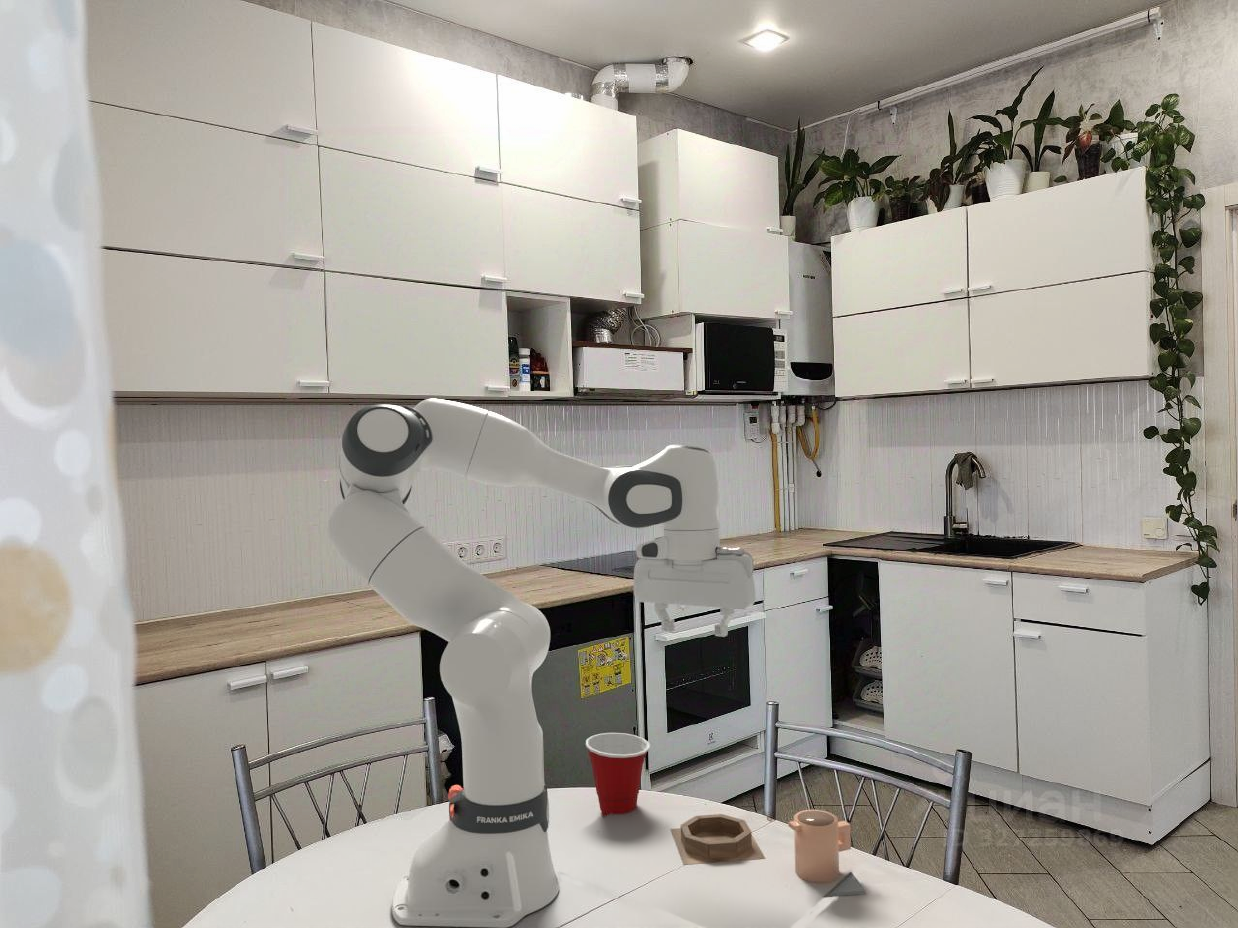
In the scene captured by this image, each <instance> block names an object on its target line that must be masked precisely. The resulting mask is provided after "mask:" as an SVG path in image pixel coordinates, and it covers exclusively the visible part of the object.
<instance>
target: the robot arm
mask: <svg viewBox="0 0 1238 928" xmlns="http://www.w3.org/2000/svg"><path fill="white" fill-rule="evenodd" d="M341 438H342V439H341V450H340V454H339V457H338V471H339V472H338V473H339V489H340V494H341V497H342V500H341V501H340V502H339V503H338V504H337V505H336V507H335V508H333V511H332V512H331V514H330V516H329V519H328V522H327V534H328V538H329V539H330V542H332V544H333V546H334V547H335V548H336V550H337V552H339V554H340V555H341V557H342V558H343V560H345V561H346V563H347V564H348V565H349V566H350V567H351V569H352V570H353V571H354V572H355V573H356V574H357V575H358V576H359V577H360V578H361V579H362V580H363V581H364V582H365V583H366V584H367V585H368V586H369V587H371V589H373V590H374V592H376V593H377V595H379V596H380V598H381V599H383V600H384V601H385V602H386V603H388V605H389V606H390V607H392V608H393V609H394V610H395V611H396V612H397V613H398V614H400V616H401V617H403V619H404V620H406V622H408V623H409V624H411V625H413V626H415V627H417V628H418V627H419V628H421V629H424V630H426V631H428V632H431V633H433V634H435V635H436V636H438V637H439V638H441V639H443V640H445V642H446V641H447V642H448V643H447V645H446V647H445V648H444V651H443V653H442V655H441V658H440V663H439V673H440V678H441V679H440V680H441V682H442V684H443V686H444V688H445V690H446V691H447V693H448V694H449V695H450V696H451V698H452V703H453V706H454V709H455V715H456V719H457V724H458V727H459V731H460V738H461V751H462V752H461V753H462V755H461V756H462V779H463V780H462V781H463V782H462V783H463V787H462V786H461V785H459V784H454V785H452V786H450V788H449V791H448V795H447V798H448V801H449V802H448V815H449V819H448V820H447V821H446V822H444V823H443V824H442V825H440V826H439V828H436V830H435V831H433V832H432V833H431V834H429V835H427V837H426V838H424V839H423V841H422V842H421V843H420V844H419V846H417V849H416V850H415V853H414V854H413V855H414V856H413V858H412V861H411V863H410V868H409V872H408V873H406V874H405V875H404V876H403V878H401V880H400V881H399V883H397V886H396V888H395V890H394V892H393V896H392V902H391V903H392V904H391V914H392V917H393V919H394V921H395V922H397V924H398V925H400V926H415V927H418V926H420V927H421V926H423V927H424V926H425V927H456V928H457V927H459V928H460V927H461V928H462V927H463V928H464V927H465V928H467V927H468V928H509V927H513V926H514V925H515V924H518V922H519V921H521V919H523V918H524V917H525V916H526V915H529V914H531V913H534V912H536V911H539V910H540V909H542V908H544V907H545V906H547V905H548V904H550V903H551V902H552V901H553V900H554V899H555V898H556V897H557V895H558V893H559V890H560V882H559V880H558V877H557V875H556V874H557V873H556V871H555V867H554V863H553V859H552V854H551V848H550V842H549V834H548V829H549V823H550V800H549V796H550V795H549V794H548V787H547V785H546V783H545V771H544V769H545V768H544V767H545V766H544V737H543V735H544V734H543V729H542V726H541V724H540V723H539V722H538V718H537V714H536V709H535V705H534V698H533V693H532V680H533V675H534V673H535V672H536V670H538V669H539V668H540V667H541V666H542V664H543V662H544V661H545V659H546V657H547V655H548V653H549V648H550V643H551V627H550V625H549V622H548V620H547V618H546V616H545V614H543V613H542V611H541V610H539V609H538V608H537V607H535V606H534V605H531V604H530V603H526V602H524V601H522V600H521V599H519V598H518V597H516V596H515V595H514V594H512V593H511V592H509V591H508V590H507V589H505V588H503V587H502V586H500V585H498V584H497V583H496V582H494V581H493V580H491V579H490V578H488V577H486V576H485V575H483V574H482V573H480V572H478V571H477V570H476V569H474V568H473V567H471V566H470V565H469V564H467V563H466V562H465V561H464V560H462V558H460V557H459V556H458V555H457V554H456V553H454V551H452V550H451V549H450V547H448V546H447V545H446V544H445V543H443V541H441V539H439V538H438V537H437V536H436V535H435V534H434V533H433V532H431V531H430V530H429V529H428V528H427V527H426V526H425V525H424V524H423V523H421V521H419V520H418V519H417V518H415V517H414V516H413V515H412V514H411V513H410V511H409V510H408V509H407V508H406V506H405V504H406V502H407V501H408V499H409V498H410V494H411V492H412V488H413V482H414V480H415V479H416V477H417V474H418V473H421V472H425V471H439V472H447V473H449V474H450V475H453V476H456V477H460V478H462V479H466V480H468V481H471V482H474V483H478V484H482V485H485V486H486V485H488V486H491V487H498V488H509V489H513V488H523V487H533V488H535V487H536V488H543V489H547V490H550V491H554V492H556V493H560V494H563V495H567V496H569V497H573V498H575V499H578V500H581V501H584V502H586V503H588V504H590V505H592V506H594V507H595V508H596V509H597V510H598V511H599V512H600V513H602V515H603V516H605V517H606V518H607V520H610V521H612V522H614V524H618V525H621V526H624V527H626V528H629V529H634V530H635V529H636V530H642V529H646V528H649V527H653V526H657V525H660V524H662V525H663V536H660V537H656V538H654V539H652V540H649V541H646V542H643V543H641V544H638V545H637V546H636V549H635V551H636V554H635V555H636V557H638V560H637V561H636V562H635V564H634V568H633V570H634V571H633V596H634V597H635V599H636V600H637V602H639V603H649V604H654V611H655V613H656V615H657V616H658V618H659V620H660V622H661V623H660V624H661V631H662V632H669V633H670V632H673V631H675V628H676V627H675V626H676V625H675V618H674V619H673V618H670V616H669V613H668V612H667V610H666V609H668V608H669V605H678V606H679V605H680V606H688V607H689V606H690V607H691V606H692V607H703V608H716V609H717V608H719V609H720V615H721V616H723V617H722V619H721V620H720V622H718V623H716V624H714V636H715V637H721V638H722V637H723V638H724V637H728V634H729V633H728V632H729V627H728V626H729V623H730V622H731V619H733V616H734V615H735V610H746V609H749V608H751V607H752V606H753V605H754V604H755V602H756V599H757V596H756V586H755V581H754V571H755V570H754V569H755V568H754V566H755V564H754V557H753V556H752V554H751V553H750V552H748V551H746V550H745V548H740V547H736V548H732V547H731V548H730V547H721V546H720V544H721V543H720V539H721V538H720V524H719V521H718V517H717V508H718V507H717V506H718V503H719V486H718V474H717V468H716V467H717V466H716V462H715V459H714V457H713V455H712V454H711V453H710V452H709V451H708V450H706V448H702V447H698V446H693V445H686V444H669V445H667V446H666V447H664V449H663V450H661V451H660V452H659V453H656V454H655V455H654V456H652V457H650V458H648V459H647V460H644V461H642V462H640V463H638V464H635V465H617V466H602V465H597V464H594V463H591V462H588V461H585V460H582V459H579V458H577V457H576V458H575V457H573V456H570V455H567V454H564V453H562V452H560V451H557V450H555V449H553V448H551V447H550V446H548V445H547V444H546V443H545V442H543V441H542V440H540V439H539V438H538V437H537V436H536V435H535V434H534V433H533V431H531V430H529V429H528V428H527V427H525V426H524V425H522V424H519V423H518V422H516V421H515V420H513V419H510V418H508V417H507V416H506V417H505V416H504V415H502V414H498V413H496V412H493V411H490V410H488V409H484V408H481V407H478V406H474V405H471V404H467V403H463V402H457V401H452V400H446V399H441V398H439V399H438V398H426V399H424V400H422V401H420V402H418V403H417V404H416V405H415V406H414V407H411V406H407V405H403V406H402V405H401V406H399V405H393V404H385V403H384V404H381V403H380V404H373V405H368V406H366V407H362V408H361V409H359V410H357V411H356V412H355V413H354V414H353V415H352V417H350V419H349V421H348V422H347V424H346V426H345V428H344V431H343V433H342V437H341Z"/></svg>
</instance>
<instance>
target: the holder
mask: <svg viewBox="0 0 1238 928" xmlns="http://www.w3.org/2000/svg"><path fill="white" fill-rule="evenodd" d="M670 832H671V835H672V838H673V841H674V842H675V846H676V848H677V851H678V854H679V857H680V859H681V862H682V865H683V866H687V865H699V864H701V865H703V864H714V863H727V862H728V863H729V862H739V861H752V860H753V861H754V860H764V859H766V857H765V855H764V853H763V852H762V850H761V848H760V846H759V845H758V843H757V841H756V839H755V837H754V836H753V833H752V830H751V829H750V827H749V825H748V823H747V822H746V820H745V819H740V818H738V817H734V816H730V815H726V814H724V813H723V814H722V813H718V814H704V815H703V814H702V815H695V816H693V817H692V818H690V819H688V820H687V821H685V822H683V823H682V824H680V827H679V828H677V827H676V828H670Z"/></svg>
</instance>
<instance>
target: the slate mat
mask: <svg viewBox="0 0 1238 928" xmlns="http://www.w3.org/2000/svg"><path fill="white" fill-rule="evenodd" d="M855 895H856V896H857V895H866V889H865V888H864V887H863V885H862V884H861V883H860V881H859V880H858V878H857V877H856V876H855V875H854V873H853V872H852V871H850V872H849V873H848V874H847V875H846V876H844V878H842V879H841V880H840V881H839V882H838V883H837V884H836V885H835V886H833V887H832V888H831V889H830V890H829V891H828V892H827V893H826V894H825V895H824V896H823V898H831V897H842V896H843V897H844V896H845V897H846V896H855Z"/></svg>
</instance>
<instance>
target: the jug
mask: <svg viewBox="0 0 1238 928" xmlns="http://www.w3.org/2000/svg"><path fill="white" fill-rule="evenodd" d="M788 827H789V828H790V829H792V830H793V836H794V840H793V841H794V871H795V874H796V876H797V877H798V878H800V879H802V880H804V881H807V882H810V883H817V884H825V883H831V882H834V881H836V880H837V879H839V877H840V855H839V854H840V853H841V852H844V851H849V850H852V849H851V848H852V841H851V840H852V839H851V837H852V836H851V824H850V823H849V822H847V821H845V820H841V821H839V818H838V817H837V816H836V815H835V814H833V813H832V812H829V811H826V810H822V809H821V810H820V809H805V810H801V811H797V812H796V813H795V814H794V815H793V820H791V821H788Z"/></svg>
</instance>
